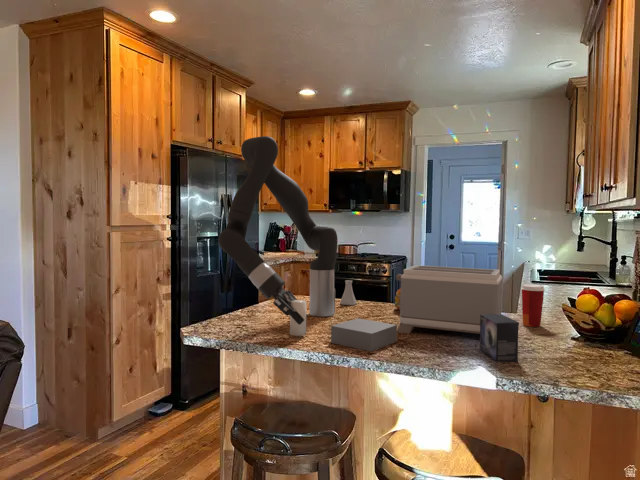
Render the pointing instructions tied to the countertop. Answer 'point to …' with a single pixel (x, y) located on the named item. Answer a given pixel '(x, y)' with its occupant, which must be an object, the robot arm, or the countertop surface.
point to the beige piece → (301, 309)
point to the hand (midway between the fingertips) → (303, 320)
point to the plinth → (364, 334)
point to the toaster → (448, 297)
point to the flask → (348, 294)
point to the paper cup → (532, 304)
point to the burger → (397, 299)
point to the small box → (499, 337)
